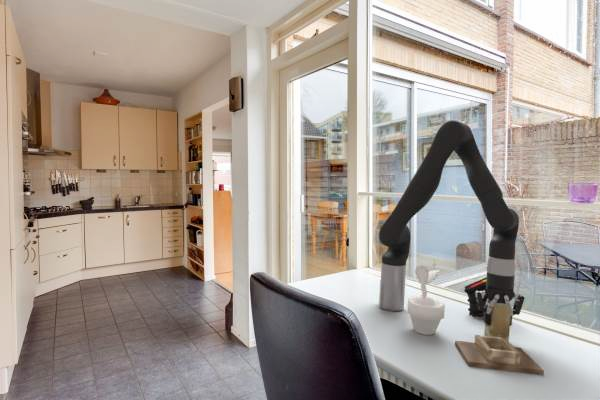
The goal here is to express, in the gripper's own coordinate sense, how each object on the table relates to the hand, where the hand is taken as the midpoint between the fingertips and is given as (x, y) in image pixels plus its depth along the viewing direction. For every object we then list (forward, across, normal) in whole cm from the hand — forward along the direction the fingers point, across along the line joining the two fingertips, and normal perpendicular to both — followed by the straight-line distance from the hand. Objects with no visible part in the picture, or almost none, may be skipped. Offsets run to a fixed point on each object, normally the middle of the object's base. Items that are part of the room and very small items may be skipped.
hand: (497, 325), depth 109 cm
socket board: (+5, -5, -14) cm, 15 cm away
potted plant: (+5, -21, +1) cm, 22 cm away
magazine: (+5, +3, +22) cm, 23 cm away
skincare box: (+5, 0, 0) cm, 5 cm away
